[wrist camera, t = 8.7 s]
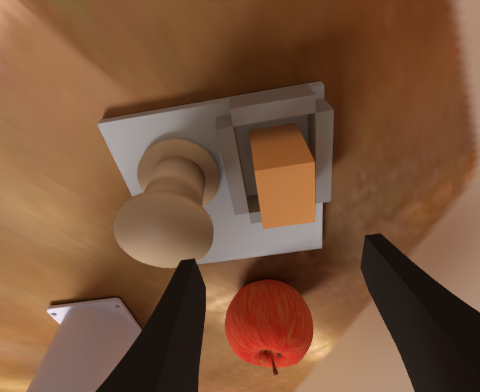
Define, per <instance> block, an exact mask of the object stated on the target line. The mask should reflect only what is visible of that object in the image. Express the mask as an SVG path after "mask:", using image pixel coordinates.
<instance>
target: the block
mask: <svg viewBox="0 0 480 392" xmlns="http://www.w3.org/2000/svg"><path fill="white" fill-rule="evenodd" d="M249 134H250V142H251V149H252V157H253V164H254V172H255V178H256V185H257V192H258V198H259V205H260V211H261V218H262V224H263V229H268V228H275V227H282V226H290V225H297V224H304V223H312V222H315V161H314V159H313V157H312V155H311V153H310V150H309V148H308V146H307V144H306V142H305V140H304V138H303V136H302V134H301V132H300V130H299V128H298V126H297V124H296V123H290V124H284V125H278V126H272V127H266V128H259V129H253V130H249Z"/></svg>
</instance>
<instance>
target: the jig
mask: <svg viewBox="0 0 480 392" xmlns="http://www.w3.org/2000/svg"><path fill="white" fill-rule="evenodd" d="M290 123H296V124H297V126H298V128H299V130H300V132H301V134H302V136H303V138H304V140H305V142H306V144H307V146H308V148H309V150H310V153H311V155H312V157H313V159H314V161H315V222H312V223H304V224H297V225H290V226H282V227H275V228H268V229H263V224H262V218H261V211H260V205H259V198H258V192H257V185H256V178H255V172H254V164H253V157H252V149H251V142H250V134H249V130H253V129H259V128H266V127H272V126H278V125H284V124H290ZM97 125H98V127H99V129H100V131H101V133H102V135H103V137H104V139H105V141H106V143H107V145H108V147H109V150H110V152H111V154H112V156H113V158H114V160H115V162H116V164H117V166H118V168H119V170H120V172H121V174H122V176H123V178H124V180H125V182H126V185H127V187H128V189H129V191H130V193H131V195H132V197H133V196H135V195H137V194H140V193H143V190H142V189H141V187H140V184H139V182H138V178H137V168H138V164H139V162H140V159H141V157H142V156H143V154H144V152H145V151H146V150H147V149H148V148H149V147H150V146H151V145H153V144H154V143H156V142H158V141H161V140H164V139H168V138H182V139H187V140H191V141H194V142H196V143H198V144H200V145H202V146H203V147H204V148H206V149H207V150H208V151H209V152H210V153H211V154H212V155H213V156H214V158H215V159H216V161H217V163H218V166H219V170H220V184H219V189H218V191H217V193H216V195H215V196H214V198H213V199H212V200H211V201H210V202H209V203H207V204H206V205H204V206H203V208H204V209H205V210H206V212H207V213H208V214H209V216H210V218H211V220H212V223H213V228H214V234H213V243H212V246H211V248H210V250H209V251H208V253H207V254H206V255H205V256H204V257H203V258H202V259H200V260H199V261H197V262H196V263H197V265H198V264H205V263H213V262H221V261H228V260H236V259H244V258H251V257H259V256H266V255H274V254H282V253H289V252H297V251H304V250H312V249H320V248H322V212H323V203H324V202H331V180H332V152H333V125H334V109H333V108H332V107H331V106H330V104H329V103H328V102H327V101H326V100H325V99H324V84H323V83H322V82H321V81H318V82H312V83H307V84H301V85H295V86H289V87H283V88H278V89H272V90H266V91H260V92H255V93H249V94H243V95H237V96H232V97H226V98H220V99H214V100H209V101H203V102H197V103H191V104H186V105H180V106H174V107H168V108H163V109H157V110H151V111H145V112H140V113H134V114H128V115H122V116H117V117H111V118H105V119H101V120H100V121H99V122H98V123H97Z"/></svg>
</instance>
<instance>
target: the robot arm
mask: <svg viewBox="0 0 480 392" xmlns="http://www.w3.org/2000/svg"><path fill="white" fill-rule="evenodd" d="M361 270H362V273H363V276H364V279H365V282H366V284H367V287H368V290H369V292H370V294H371V296H372V298H373V300H374V302H375V304H376V306H377V308H378V310H379V312H380V314H381V316H382V318H383V320H384V322H385V324H386V326H387V328H388V330H389V332H390V333H391V336H392V338H393V340H394V342H395V344H396V346H397V348H398V350H399V353H400V355H401V357H402V360H403V362H404V365H405V367H406V370H407V372H408V375H409V378H410V380H411V383H412V386H413V388H414V391H415V392H480V313H479V312H478V311H477V310H475V309H474V308H472V307H471V306H469V305H468V304H466V303H465V302H464V301H462V300H461V299H459V298H458V297H457V296H455V295H454V294H452V293H451V292H450V291H448V290H447V289H446V288H445V287H443V286H442V285H441V284H439V283H438V282H437V281H435V280H434V279H433V278H431V277H430V276H429V275H428V274H427V273H425V272H424V271H423V270H422V269H421V268H419V267H418V266H417V265H415V263H413V262H412V261H411V260H410V259H409V258H408V257H406V256H405V255H404V254H403V253H402V252H401V251H400V250H398V249H397V248H396V247H395V246H394V245H393V244H392V243H391V242H390V241H388V240H387V239H386V238H385V237H384V236H383V235H382V234H373V235H365V240H364V247H363V254H362V261H361ZM47 312H48V313H49V314H50V315H51V316H52V317H53V318H54V319H55V320H56V321H57V322H58V323H59V324H60V326H59V328H58V330H57V332H56V334H55V336H54V338H53V340H52V342H51V344H50V346H49V348H48V350H47V352H46V354H45V356H44V358H43V360H42V362H41V364H40V366H39V368H38V370H37V372H36V374H35V376H34V378H33V380H32V382H31V384H30V386H29V388H28V390H27V392H198V375H199V363H200V355H201V347H202V338H203V330H204V321H205V312H206V287H205V284H204V281H203V279H202V276H201V273H200V271H199V268H198V265H197V263H196V260H195V258H193V259H186V260H181V261H180V262H179V264H178V266H177V268H176V270H175V272H174V274H173V276H172V278H171V280H170V282H169V284H168V286H167V288H166V290H165V292H164V294H163V296H162V297H161V299H160V301H159V303H158V305H157V306H156V308H155V310H154V311H153V313H152V315H151V316H150V318H149V320H148V321H147V323H146V324H145V326H144V328H143V329H141V328H140V326H139V325H138V323H137V322H136V321H135V319H134V318H133V316H132V315H131V314H130V312H129V311H128V309H127V308H126V306H125V305H124V304H123V302H122V301H121V300H120V299H119V298H109V299H101V300H93V301H85V302H77V303H69V304H61V305H53V306H49V307H48V308H47Z"/></svg>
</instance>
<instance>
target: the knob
mask: <svg viewBox="0 0 480 392" xmlns="http://www.w3.org/2000/svg"><path fill="white" fill-rule="evenodd" d="M137 178H138V182H139V184H140V187H141V189H142V190H143V193H140V194H137V195H135V196H133V197H131V198H130V199H128V200H127V201H126V202H125V203H124V204H123V205H122V206H121V207H120V209H119V211H118V213H117V215H116V217H115V219H114V223H113V233H114V236H115V239H116V241H117V243H118V244H119V246H120V247H121V248H122V249H123V250H124V251H125V252H126V253H127V254H128V255H130V256H131V257H132V258H134V259H136V260H138V261H140V262H142V263H145V264H148V265H151V266H155V267H161V268H177V266H178V264H179V262H180V261H181V260H186V259H193V258H195V260H196V262H197V261H199V260H200V259H202V258H203V257H204V256H205V255H206V254H207V253H208V251H209V250H210V248H211V246H212V243H213V234H214V228H213V223H212V220H211V218H210V216H209V214H208V213H207V212H206V210H205V209H204V208H203V206H204V205H206V204H207V203H209V202H210V201H211V200H212V199H213V198H214V196H215V195H216V193H217V191H218V189H219V184H220V170H219V166H218V163H217V161H216V159H215V158H214V156H213V155H212V154H211V153H210V152H209V151H208V150H207V149H206V148H204V147H203V146H202V145H200V144H198V143H196V142H194V141H191V140H187V139H182V138H168V139H164V140H161V141H158V142H156V143H154V144H153V145H151V146H150V147H149V148H148V149H147V150H146V151H145V152H144V154H143V156H142V157H141V159H140V162H139V164H138V168H137Z"/></svg>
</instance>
